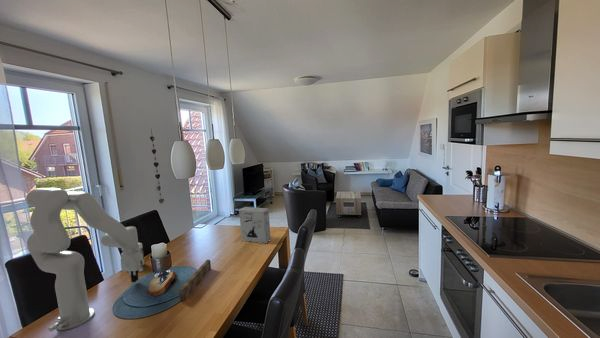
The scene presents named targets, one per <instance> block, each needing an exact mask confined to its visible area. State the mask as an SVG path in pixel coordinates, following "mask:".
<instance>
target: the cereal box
mask: <svg viewBox="0 0 600 338" xmlns="http://www.w3.org/2000/svg"><path fill="white" fill-rule="evenodd" d="M238 211H239V213H238V214H239V226H240V235H241V237H240V238H241V241H242V240H244V241H243V242H246V241H252V242H251V243H254V242H260V243H259V244H261V243H266V244H268V243H269V242H270V241H271V240H270V239H271V228H270V227H271V226H270V225H271V224H270V209H269V208H267V207H265V208H264V207H252V206H250V207H249V206H244V207H242V208H240V209H238ZM269 240H270V241H269ZM268 241H269V242H268ZM267 242H268V243H267Z"/></svg>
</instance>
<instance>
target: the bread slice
mask: <svg viewBox="0 0 600 338" xmlns="http://www.w3.org/2000/svg"><path fill="white" fill-rule="evenodd" d="M168 273H169V274H170V275H168V278H167V279H166V280H165V281H164V282H163V283H162V284H161V285H160V284H157V283H159V279H158V274H157V275H155V276H154V277H153V278H151V280H150V282H149V283H148V288H147V293H148V294H149V295H150V296H154V297H155V296H156V297H157V296H160V295H162V294H164V293H165V292H166V291H167V289H168V288H169V287H170V286H171V284H172V283H173V281H174V279H175V277H176V272H175V271H169V272H168ZM171 282H172V283H171Z"/></svg>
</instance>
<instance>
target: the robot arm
mask: <svg viewBox="0 0 600 338" xmlns="http://www.w3.org/2000/svg"><path fill="white" fill-rule="evenodd" d="M25 201H26V203H27V204H28V205H29V206H30V207H32V208H34V209H33V211H32V213H31V216H30V219H29V220H30V225H31V226H30V227H31V229H32V230H33V233H31V234H30V235H29V236H28V238H27V241H26V247H27V251H28V252H29V254H30V256H31V257H32V259H33V261H34V262H35V264H36V266H37V267H38V269H39V270H40V271H42V272H45V273H51V274H55V275H56V278H55V281H54V291H55V294H56V300H57V301H56V302H57V305H58V306H57V307H58V313H59V316H58V317H57V321H56V322H55V323H54V324H52V325H51V326H49V327H48V329H47V330H48V332H53V331H55V330H56V329H57V330H59V331H67V330H70V329H71V330H72V329H74V328H77V327H79V326H81V325H83V324H85V323H86V322H88V321H90V319H92V318H93V317H94V315H95V309H94V308H92V307H90V305H89V298H88V292H87V285H86V280H85V273H84V272H85V271H84V270H85V258H84V256H83V255H82V254H81V253H79V252H78V251H73V250H68V248H70V245H71V238H70V236H69V234H68V231H67V230H66V227H65V225H64V224H63V222H62V218H61V212H62V211H63V210H64V211H65V210H68V211H70V210H71V211H75V212H76V213H77V215H78V216H79V217H81V219H82V220H83V222H85V223H86V225H87V226H89V227H90V228H93V229H95V230H96V231H97V230H98V231H100V232H102V233H105V234H104V235H103V236H101V239H100V241H101V244H102V245H103V246H104V247H108V248H109V247H110V248H116V249H117V248H118V249H120V250H121V251H122V252H121V254H120V267H121V271H122V272H126V273H127V274H128V275H129V276H130V281H131V283H136V282H137V281H138V280H139V273H141V272H142V271H144V265H145V264H144V263H143V257H142V254H141V251H140V250H139V244H138V243H139V239H138V238H139V237H138V230H137V228H136V226H133V225H132V226H131V225H130V226H125V225H124V224H123V223H121V222H120V221H119V220H117V219H116V218H114V217H113V216H111V215H109V214H108V213H107V211H106V210H105V209H104V207H102V206H101V204H100V203H99V202H98V201H97V199H96V198H95V197H94V195H92V193H90V192H87V191H69V190H68V191H66V190H65V189H64V188H58V187H39V188H38V187H37V188H35V189H31V190H30V191H29V192H27V194H26V196H25Z"/></svg>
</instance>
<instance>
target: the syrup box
mask: <svg viewBox="0 0 600 338" xmlns="http://www.w3.org/2000/svg"><path fill="white" fill-rule="evenodd" d="M138 244H139V250H140V251H141V254H142V257H143V263H144V265H145V264H146V262H145V255H144V249H143V243H142V242H138Z"/></svg>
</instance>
